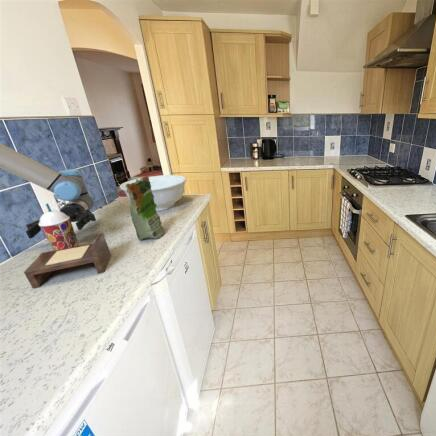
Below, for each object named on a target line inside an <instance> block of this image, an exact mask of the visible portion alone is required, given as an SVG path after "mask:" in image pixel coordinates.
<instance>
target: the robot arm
mask: <svg viewBox="0 0 436 436" xmlns="http://www.w3.org/2000/svg"><path fill="white" fill-rule="evenodd" d="M0 169H1V170H4V171H5V172H8V173H10V174H12V175H14V176H16V177H19V178H21V179H23V180H25V181H26V182H29V183H32V184H33V185H36V186H38V187H39V188H42V189H45V190H46V191H48V192H50V193H53V194H54V195H55V197H56V198H58V199H59V200H62V201H64V202H67V203H65V204H64V205H63V206H62V207H61V208H60V210H59V211H61V212H63V213H65V214H66V215H67V216H69V217H70V220H71V223H75V226H76V229H77V230H78V231H82V229H83V228H84V227H85V226H86V225H87V224H89V223H91V221H92V222H96V221H97V218H96V216H95V214H94V213H92V212H91V209H92V208H93V207H94V204H95V199H94V197H93V196H92V195H91V194H89V192H88V188H87V187H86V184H85V180H84V178H83V175H82V174H81V171H80V170H79V169H76V168H69V169H64V170H63V169H61V170H59V171H56V170H54V169H52V168H49V167H47V166H46V165H44V164H42V163H40V162H38V161H36V160H34V159H32V158H31V157H28V156H26V155H25V154H22V153H21V152H19V151H17V150H15V149H13V148H11V147H9V146H6V144H3V143H1V142H0ZM39 220H40V218H39V219H37V220H35V221H32V222H29V223H26V224H25V227H26V229H27V230H26V231H25V233H26V235H27V237H28V239H29V240H30V239H33V238H34V237H36V235H38V234H39V233H40V232H42V229H41V227H40V226H39V225H38V223H39Z"/></svg>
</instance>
